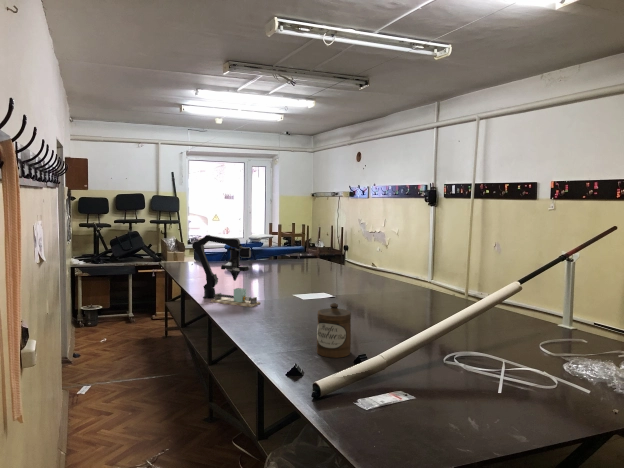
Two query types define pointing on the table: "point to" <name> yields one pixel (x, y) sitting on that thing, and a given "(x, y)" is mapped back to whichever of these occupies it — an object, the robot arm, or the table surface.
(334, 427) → the table surface
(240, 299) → the pale teal block
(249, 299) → the long grey square rod
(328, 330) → the wooden container
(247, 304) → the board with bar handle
